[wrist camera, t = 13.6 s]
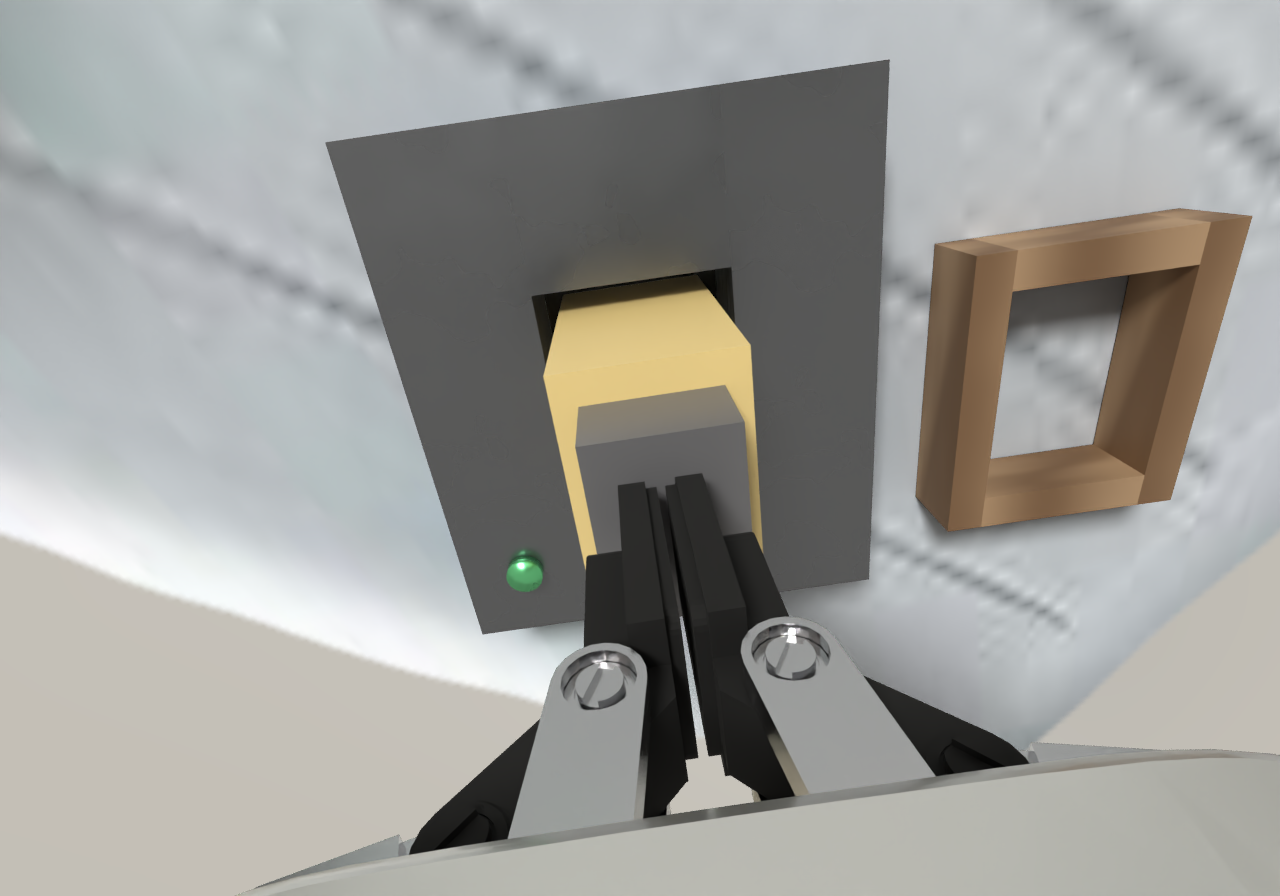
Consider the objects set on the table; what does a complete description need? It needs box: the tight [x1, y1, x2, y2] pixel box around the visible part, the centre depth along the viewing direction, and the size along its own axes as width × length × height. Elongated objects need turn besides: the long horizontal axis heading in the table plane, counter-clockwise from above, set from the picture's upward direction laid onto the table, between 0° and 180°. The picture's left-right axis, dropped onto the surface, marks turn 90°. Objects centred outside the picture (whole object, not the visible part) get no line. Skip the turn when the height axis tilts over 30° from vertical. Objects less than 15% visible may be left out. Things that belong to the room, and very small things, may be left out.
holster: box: [916, 208, 1252, 532], centre depth 21 cm, size 8×10×2 cm
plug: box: [543, 275, 763, 616], centre depth 17 cm, size 4×6×10 cm
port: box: [326, 60, 890, 634], centre depth 20 cm, size 14×16×3 cm
